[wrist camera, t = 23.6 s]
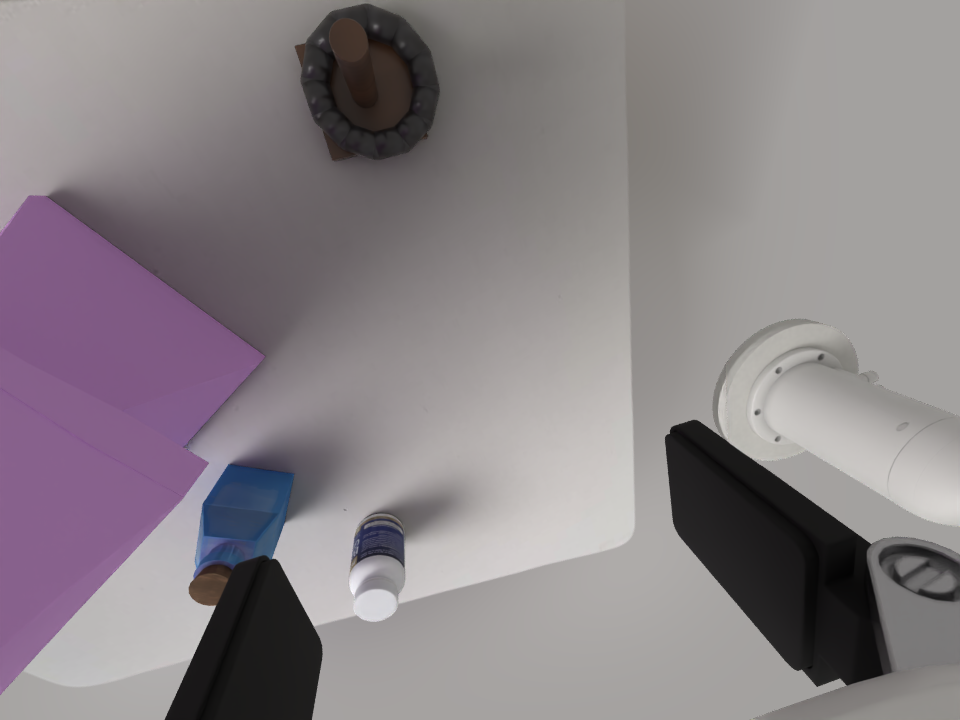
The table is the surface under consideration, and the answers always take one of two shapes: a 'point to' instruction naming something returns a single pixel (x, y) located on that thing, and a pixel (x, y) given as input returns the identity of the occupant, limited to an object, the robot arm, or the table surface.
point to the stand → (365, 81)
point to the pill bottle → (377, 566)
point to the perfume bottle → (238, 526)
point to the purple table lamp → (91, 415)
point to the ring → (409, 49)
